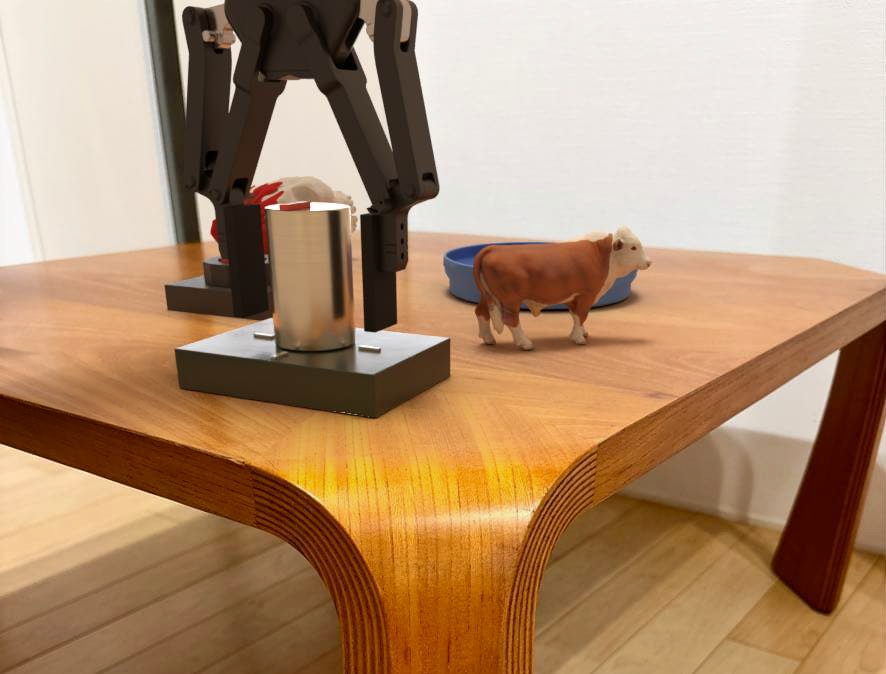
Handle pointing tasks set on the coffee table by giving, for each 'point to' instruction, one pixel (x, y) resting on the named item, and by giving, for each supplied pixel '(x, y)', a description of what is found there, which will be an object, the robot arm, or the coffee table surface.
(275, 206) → the knob
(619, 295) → the bowl
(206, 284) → the button box
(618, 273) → the bull figurine
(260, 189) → the red cream irregular piece
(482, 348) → the coffee table surface
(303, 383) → the dial panel
